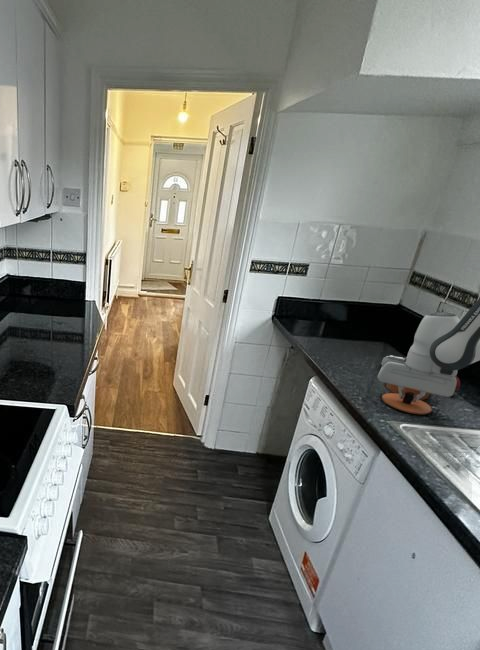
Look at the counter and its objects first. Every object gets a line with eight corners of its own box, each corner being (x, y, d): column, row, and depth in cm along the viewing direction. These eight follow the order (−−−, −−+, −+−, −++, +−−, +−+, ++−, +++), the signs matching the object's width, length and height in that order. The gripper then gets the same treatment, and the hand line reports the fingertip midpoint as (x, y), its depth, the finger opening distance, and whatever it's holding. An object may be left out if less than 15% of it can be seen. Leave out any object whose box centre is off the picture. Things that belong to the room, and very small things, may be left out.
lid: (428, 403, 140) (433, 391, 138) (432, 420, 129) (438, 407, 128) (381, 392, 147) (385, 380, 145) (381, 407, 136) (386, 394, 134)
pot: (426, 390, 151) (437, 363, 146) (429, 403, 141) (441, 375, 136) (385, 380, 156) (395, 355, 152) (386, 392, 147) (396, 365, 142)
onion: (437, 387, 153) (447, 368, 149) (456, 394, 149) (466, 374, 146) (433, 391, 149) (442, 371, 146) (452, 398, 145) (462, 378, 142)
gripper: (384, 356, 134) (371, 394, 140) (464, 373, 124) (446, 413, 130) (384, 351, 139) (371, 388, 145) (461, 366, 129) (443, 405, 135)
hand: (407, 400), depth 137 cm, fingers closed on lid, 2 cm apart
